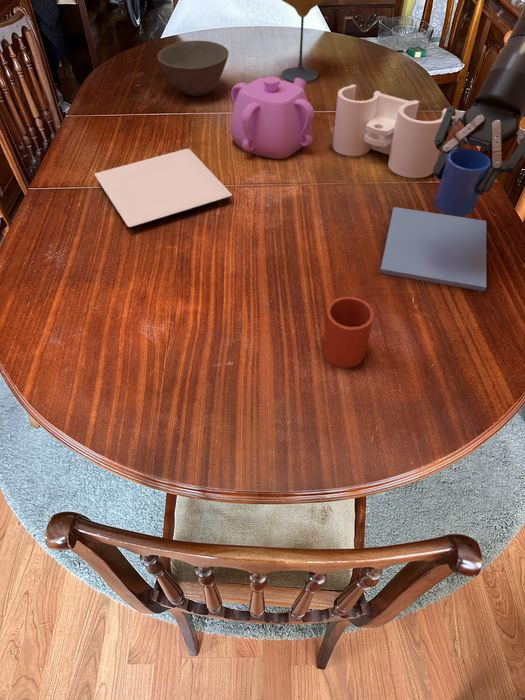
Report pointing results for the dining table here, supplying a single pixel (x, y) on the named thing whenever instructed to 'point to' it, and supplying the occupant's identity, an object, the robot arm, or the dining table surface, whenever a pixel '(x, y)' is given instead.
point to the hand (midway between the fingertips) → (457, 185)
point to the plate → (161, 187)
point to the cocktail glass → (301, 42)
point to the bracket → (386, 131)
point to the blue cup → (461, 181)
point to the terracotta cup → (347, 331)
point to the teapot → (271, 117)
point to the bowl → (194, 65)
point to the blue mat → (436, 248)
